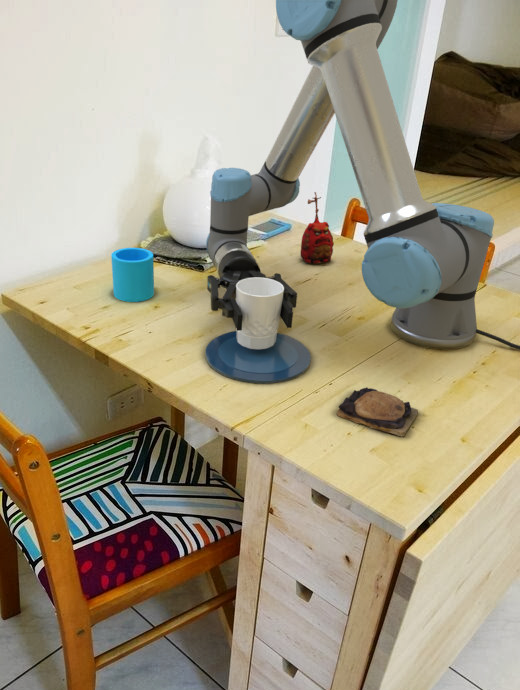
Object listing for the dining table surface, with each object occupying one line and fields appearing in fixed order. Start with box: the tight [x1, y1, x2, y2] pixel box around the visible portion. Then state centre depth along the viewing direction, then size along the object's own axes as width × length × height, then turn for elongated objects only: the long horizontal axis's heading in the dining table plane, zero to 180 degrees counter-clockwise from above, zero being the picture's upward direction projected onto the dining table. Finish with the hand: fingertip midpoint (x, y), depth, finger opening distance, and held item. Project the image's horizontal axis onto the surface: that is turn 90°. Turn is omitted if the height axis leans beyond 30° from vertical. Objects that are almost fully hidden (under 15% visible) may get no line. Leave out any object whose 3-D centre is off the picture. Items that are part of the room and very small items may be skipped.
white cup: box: [235, 277, 284, 349], centre depth 109 cm, size 8×8×10 cm
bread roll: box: [336, 386, 420, 438], centre depth 96 cm, size 11×8×4 cm
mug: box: [110, 247, 155, 303], centre depth 130 cm, size 12×8×8 cm
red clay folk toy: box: [300, 191, 335, 265], centre depth 147 cm, size 8×7×15 cm
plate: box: [204, 330, 312, 385], centre depth 111 cm, size 18×18×1 cm
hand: (265, 321), depth 104 cm, fingers closed on white cup, 8 cm apart
